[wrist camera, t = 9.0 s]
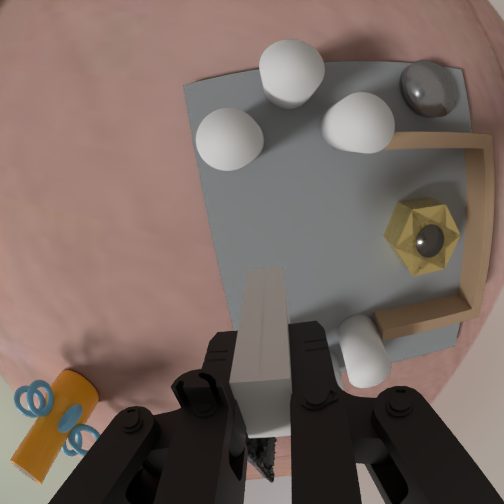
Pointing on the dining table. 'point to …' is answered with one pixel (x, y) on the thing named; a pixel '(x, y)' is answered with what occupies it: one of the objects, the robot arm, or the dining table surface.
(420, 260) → the nut
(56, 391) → the cylinder
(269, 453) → the dark piece
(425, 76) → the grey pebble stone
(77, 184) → the dining table surface
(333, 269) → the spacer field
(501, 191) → the dining table surface
